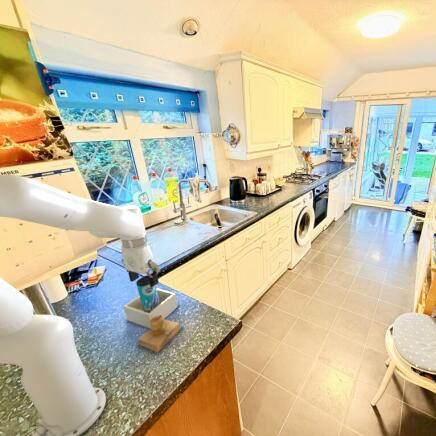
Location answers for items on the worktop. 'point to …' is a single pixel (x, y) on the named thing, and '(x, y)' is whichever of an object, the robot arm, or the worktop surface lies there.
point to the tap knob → (157, 325)
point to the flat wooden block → (159, 336)
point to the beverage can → (148, 294)
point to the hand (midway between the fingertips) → (144, 282)
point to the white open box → (140, 317)
